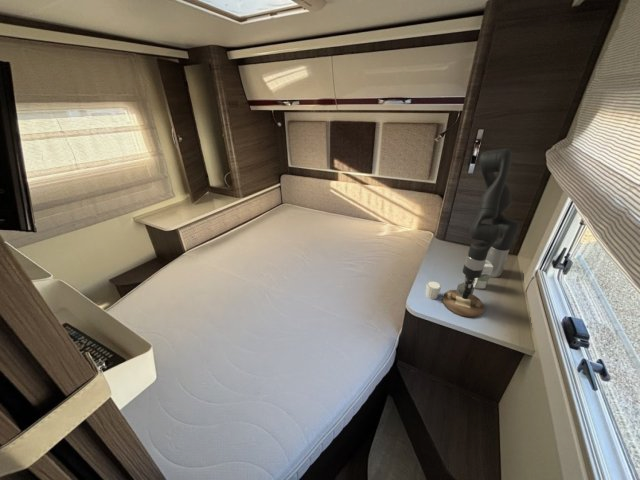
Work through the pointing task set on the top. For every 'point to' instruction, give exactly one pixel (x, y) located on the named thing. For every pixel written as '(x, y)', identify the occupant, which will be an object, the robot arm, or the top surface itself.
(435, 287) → the white cup
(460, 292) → the dice cube
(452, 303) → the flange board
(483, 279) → the syrup box
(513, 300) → the top surface
